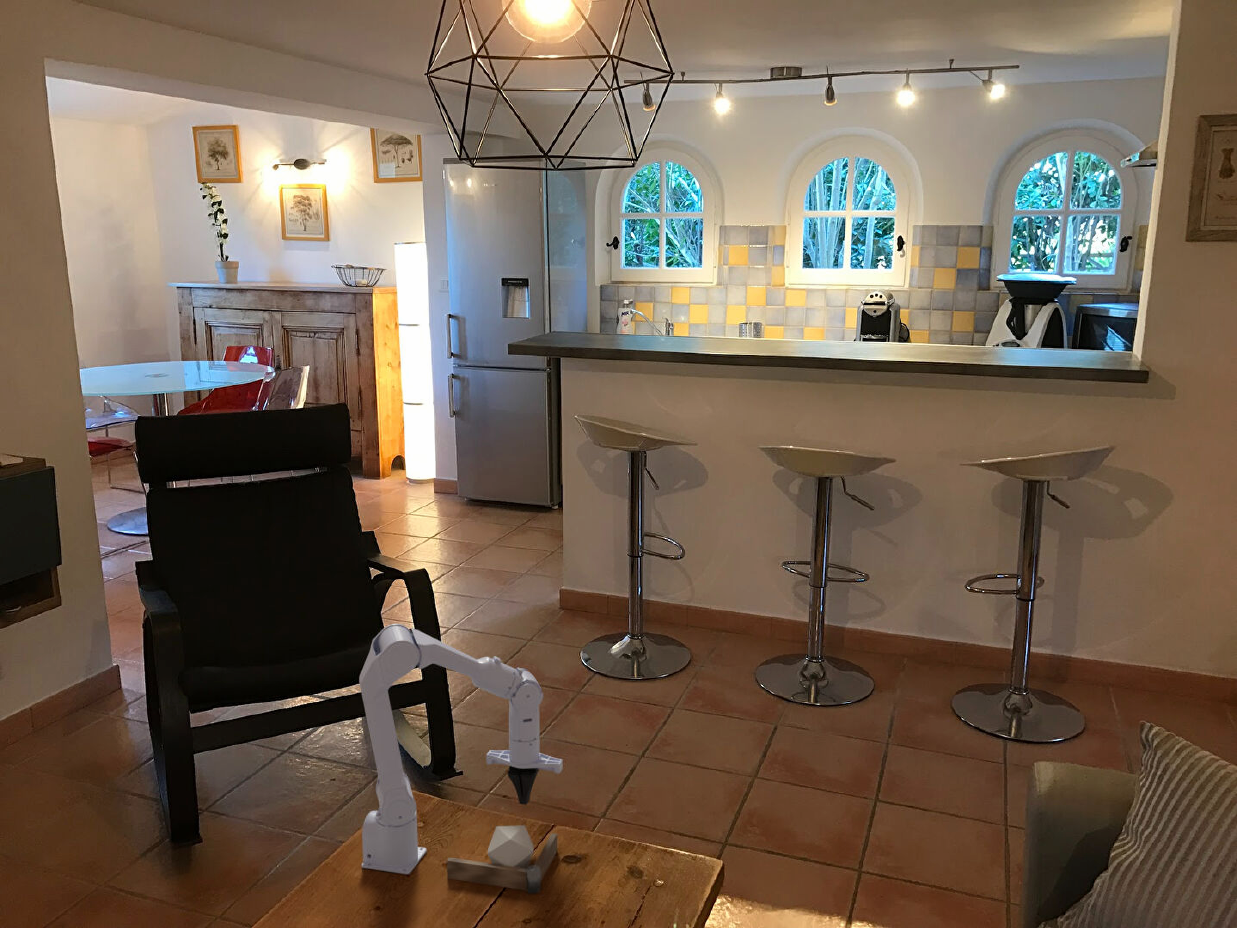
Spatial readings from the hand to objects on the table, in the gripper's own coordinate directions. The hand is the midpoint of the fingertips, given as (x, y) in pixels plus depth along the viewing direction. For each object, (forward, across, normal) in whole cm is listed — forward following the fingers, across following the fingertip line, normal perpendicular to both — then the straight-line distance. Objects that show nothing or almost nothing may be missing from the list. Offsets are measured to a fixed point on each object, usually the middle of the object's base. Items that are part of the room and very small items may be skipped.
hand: (524, 801), depth 191 cm
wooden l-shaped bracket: (+7, 0, +10) cm, 12 cm away
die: (+8, -1, +10) cm, 13 cm away
